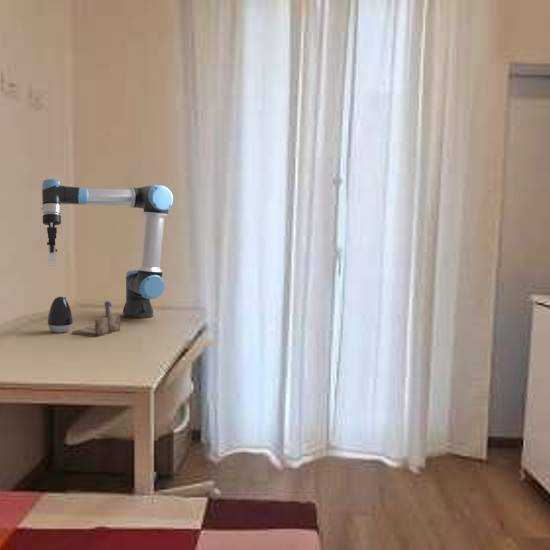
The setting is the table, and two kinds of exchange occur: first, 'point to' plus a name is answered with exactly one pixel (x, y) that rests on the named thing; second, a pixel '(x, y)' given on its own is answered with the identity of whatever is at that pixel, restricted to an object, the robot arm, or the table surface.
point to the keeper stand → (102, 324)
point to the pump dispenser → (60, 316)
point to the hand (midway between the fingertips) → (52, 263)
